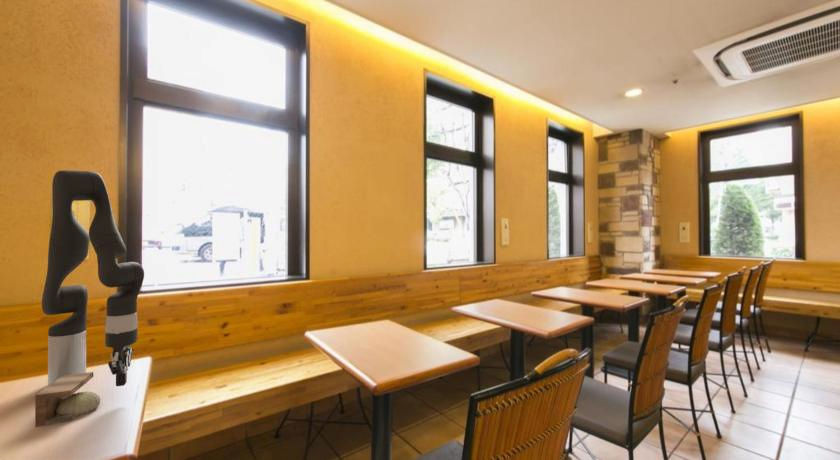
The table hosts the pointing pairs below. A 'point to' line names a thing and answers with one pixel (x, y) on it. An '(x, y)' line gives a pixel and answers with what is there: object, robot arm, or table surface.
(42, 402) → the shelf
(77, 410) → the sea urchin shell
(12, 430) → the table surface
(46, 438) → the table surface
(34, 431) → the table surface
